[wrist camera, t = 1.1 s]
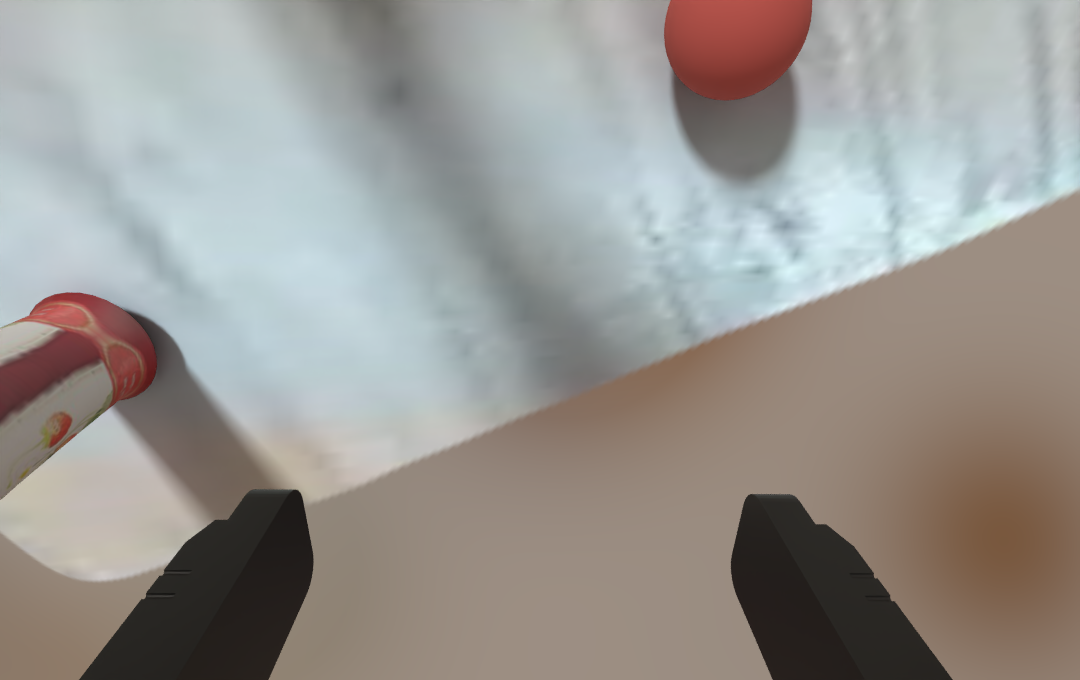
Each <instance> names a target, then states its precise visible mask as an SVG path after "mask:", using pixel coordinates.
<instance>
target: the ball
mask: <svg viewBox="0 0 1080 680" xmlns="http://www.w3.org/2000/svg"><path fill="white" fill-rule="evenodd" d="M811 15H812V0H671V1H670V4H669V7H668V11H667V15H666V20H665V28H664V39H665V48H666V53H667V56H668V59H669V62H670V64H671V66H672V68H673V70H674V72H675V73H676V75H677V76H678V78H679V79H680V80H681V81H682V82H683V83H684V84H685V85H686V86H687V87H688V88H689V89H691V90H692V91H694V92H695V93H697V94H699V95H701V96H704V97H707V98H711V99H715V100H735V99H740V98H745V97H748V96H751V95H753V94H755V93H757V92H759V91H761V90H763V89H765V88H766V87H768V86H769V85H771V84H772V83H774V82H775V81H776V80H777V79H778V78H780V77H781V76H782V75H783V74H784V73H785V71H786V70H787V69H788V68H789V67H790V66H791V64H792V63H793V62H794V60H795V59H796V57H797V56H798V54H799V52H800V51H801V49H802V46H803V44H804V42H805V40H806V37H807V34H808V31H809V26H810V22H811Z"/></svg>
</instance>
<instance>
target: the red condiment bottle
mask: <svg viewBox="0 0 1080 680" xmlns="http://www.w3.org/2000/svg"><path fill="white" fill-rule="evenodd" d="M156 368H157V360H156V353H155V350H154V346H153V344H152V342H151V340H150V338H149V336H148V334H147V333H146V332H145V331H144V329H143V328H142V327H141V325H140V324H139V323H138V322H137V321H136V320H135V319H134V318H133V317H132V316H131V315H129V314H128V313H127V312H125V311H124V310H123V309H121V308H120V307H118V306H116V305H114V304H113V303H111V302H109V301H107V300H104V299H102V298H99V297H96V296H93V295H88V294H83V293H61V294H55V295H52V296H50V297H47V298H45V299H43V300H42V301H41V302H39V303H38V304H37V305H36V306H35V307H34V309H33V310H32V311H31V312H30V315H29V316H27V317H25V318H22V319H20V320H18V321H15V322H13V323H11V324H8V325H6V326H4V327H1V328H0V500H1V499H2V498H3V497H5V496H6V495H7V494H8V493H9V492H10V491H11V490H12V489H13V488H15V487H16V486H17V485H18V484H19V483H20V482H21V481H23V480H24V479H25V478H26V477H27V476H29V475H30V474H31V473H32V472H33V471H34V470H36V469H37V468H38V467H39V466H40V465H42V464H43V463H44V462H45V461H46V460H47V459H49V458H50V457H51V456H52V455H53V454H55V453H56V452H57V451H58V450H59V449H60V448H62V447H63V446H64V445H65V444H66V443H68V442H69V441H70V440H71V439H72V438H73V437H75V436H76V435H77V434H78V433H79V432H81V431H82V430H83V429H84V428H85V427H87V426H88V425H89V424H90V423H92V422H93V421H94V420H95V419H96V418H98V417H99V416H100V415H101V414H103V413H104V412H105V411H106V410H108V409H109V408H110V407H111V406H112V405H114V404H115V403H116V402H117V401H119V400H126V399H129V398H132V397H135V396H137V395H139V394H140V393H142V392H143V391H145V390H146V389H147V388H148V386H149V385H150V384H151V383H152V381H153V379H154V377H155V373H156Z"/></svg>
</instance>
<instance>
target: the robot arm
mask: <svg viewBox="0 0 1080 680" xmlns="http://www.w3.org/2000/svg"><path fill="white" fill-rule="evenodd" d="M312 572H313V551H312V546H311V540H310V535H309V530H308V524H307V519H306V514H305V508H304V503H303V498H302V495H301V493H300V492H299V491H298V490H267V489H254V490H251V491H249V492H248V493H247V494H246V495H245V497H244V498H243V499H242V501H241V502H240V504H239V505H238V506H237V508H236V509H235V511H234V512H233V513H232V515H231V516H230V518H229V519H228V520H215V521H213V522H212V523H211V524H209V525H208V526H207V527H205V528H204V529H203V530H201V531H200V532H199V533H197V534H196V535H195V536H193V537H192V538H191V539H189V540H188V541H187V542H186V543H185V544H184V545H183V546H182V548H181V549H180V550H179V551H178V553H177V554H176V555H175V557H174V558H173V559H172V560H171V562H170V563H169V564H168V566H167V567H166V568H165V570H164V574H163V576H159V577H158V579H157V580H156V581H155V582H154V584H153V585H152V586H151V588H150V589H149V590H148V591H147V593H146V598H145V599H141V601H140V602H139V603H138V604H137V606H136V607H135V608H134V610H133V611H132V612H131V614H130V615H129V616H128V617H127V619H126V620H125V622H123V624H122V625H121V626H120V628H119V629H118V630H117V632H116V633H115V634H114V636H113V637H112V638H111V639H110V641H109V642H108V643H107V645H106V646H105V647H104V648H103V650H102V651H101V652H100V653H99V655H98V656H97V657H96V659H95V660H94V661H93V663H92V664H91V665H90V666H89V668H88V669H87V670H86V672H85V673H84V674H83V675H82V677H81V678H80V679H79V680H268V679H269V677H270V675H271V673H272V670H273V668H274V666H275V664H276V661H277V659H278V657H279V655H280V653H281V650H282V648H283V646H284V644H285V641H286V639H287V637H288V634H289V632H290V630H291V628H292V625H293V623H294V620H295V619H296V617H297V614H298V612H299V610H300V608H301V605H302V603H303V601H304V599H305V596H306V594H307V592H308V589H309V586H310V582H311V578H312ZM731 574H732V581H733V585H734V589H735V592H736V595H737V597H738V600H739V602H740V604H741V607H742V609H743V611H744V614H745V616H746V618H747V620H748V623H749V625H750V628H751V630H752V632H753V634H754V637H755V639H756V641H757V644H758V646H759V649H760V651H761V653H762V656H763V658H764V660H765V662H766V665H767V667H768V670H769V672H770V674H771V677H772V679H773V680H952V678H951V677H950V676H949V674H948V673H947V671H946V670H945V669H944V667H943V666H942V665H941V663H940V662H939V661H938V659H937V658H936V657H935V655H934V654H933V653H932V651H931V650H930V649H929V647H928V646H927V644H926V643H925V642H924V640H923V639H922V638H921V637H920V635H919V634H918V632H917V631H916V630H915V629H914V627H913V626H912V624H911V623H910V622H909V620H908V619H907V617H906V616H905V615H904V613H903V612H902V611H901V609H900V608H899V607H898V605H897V604H896V603H895V602H894V601H891V599H890V595H889V593H888V592H887V590H886V589H885V588H884V586H883V585H882V584H881V582H880V581H879V580H878V579H875V578H874V573H873V572H872V570H871V569H870V567H869V566H868V565H867V564H866V562H865V561H864V559H863V558H862V557H861V555H860V554H859V553H858V551H857V550H856V549H855V547H854V546H853V545H851V544H850V543H849V542H848V541H846V540H845V539H844V538H842V537H841V536H840V535H839V534H838V533H836V532H835V531H834V530H832V529H831V528H830V527H829V526H827V525H824V524H821V525H820V524H819V525H818V524H817V525H816V524H815V523H814V522H813V520H812V519H811V517H810V516H809V514H808V513H807V511H806V510H805V508H804V507H803V506H802V504H801V503H800V501H799V500H798V499H797V498H796V497H795V496H793V495H790V494H787V495H786V494H785V495H784V494H781V495H780V494H750V495H748V496H747V498H746V499H745V502H744V505H743V510H742V514H741V518H740V522H739V527H738V531H737V535H736V540H735V544H734V548H733V553H732V558H731Z"/></svg>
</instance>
